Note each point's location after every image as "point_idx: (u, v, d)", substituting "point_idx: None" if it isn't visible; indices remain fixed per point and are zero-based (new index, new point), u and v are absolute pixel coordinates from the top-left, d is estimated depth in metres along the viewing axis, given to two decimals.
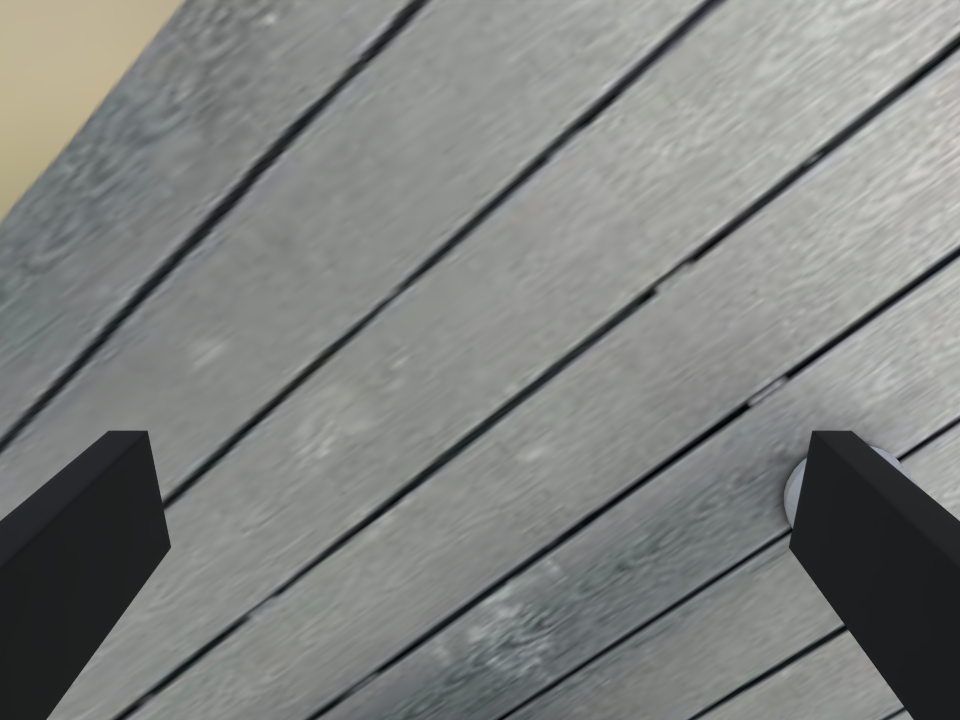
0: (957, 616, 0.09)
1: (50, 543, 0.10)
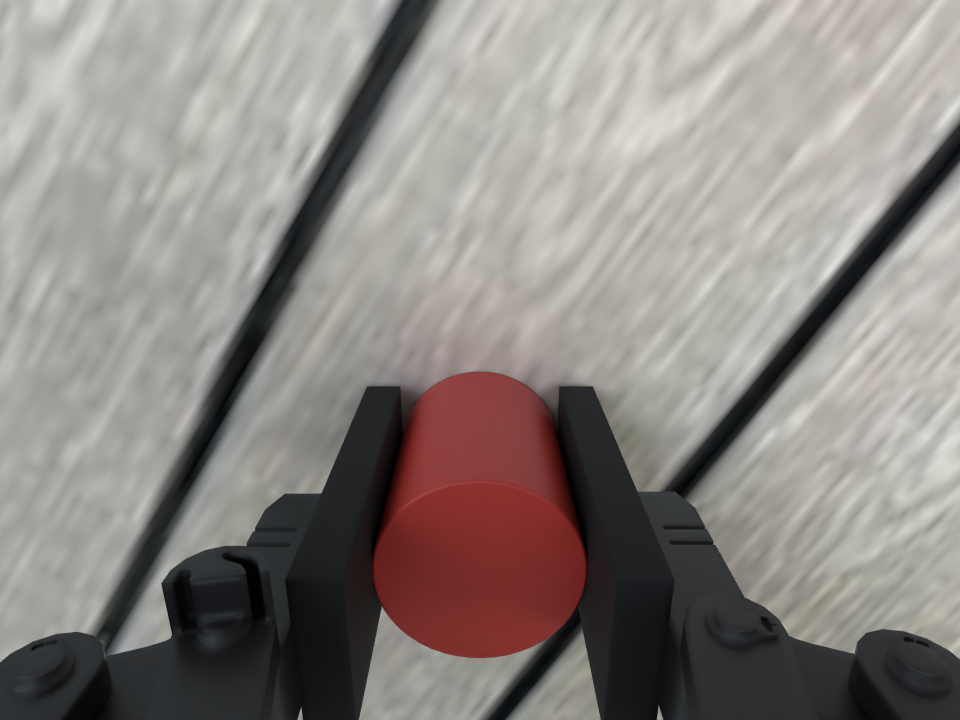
0: (586, 520, 0.11)
1: (380, 468, 0.12)
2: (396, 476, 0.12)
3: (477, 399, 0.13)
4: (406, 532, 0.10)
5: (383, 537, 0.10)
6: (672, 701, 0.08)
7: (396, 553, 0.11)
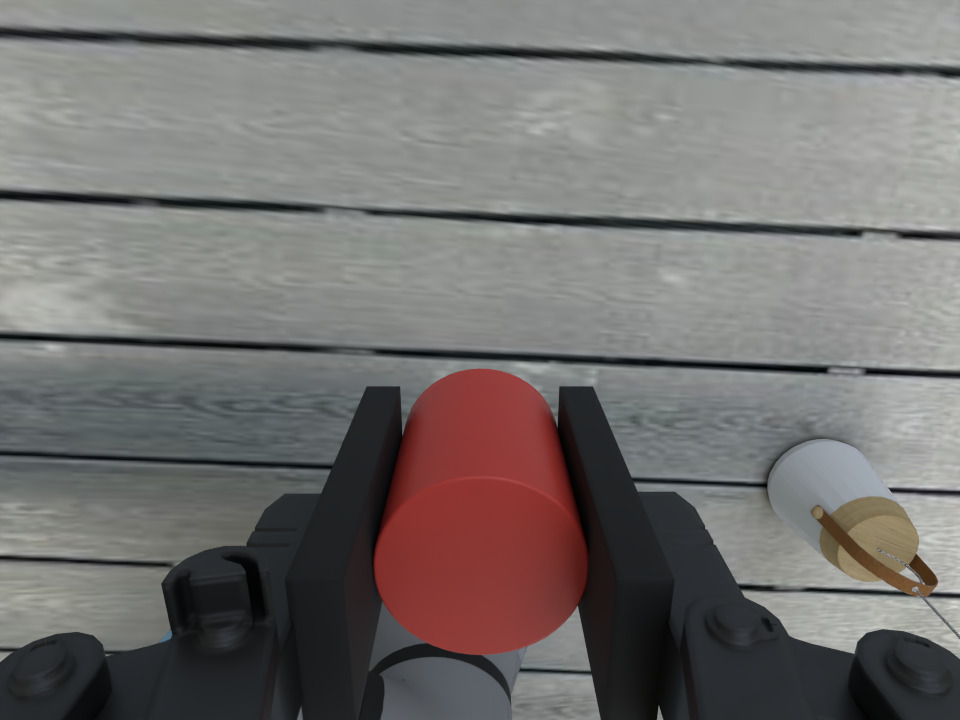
0: (586, 520, 0.11)
1: (380, 468, 0.12)
2: (397, 472, 0.12)
3: (479, 396, 0.13)
4: (408, 529, 0.10)
5: (384, 533, 0.10)
6: (672, 701, 0.08)
7: (397, 549, 0.11)
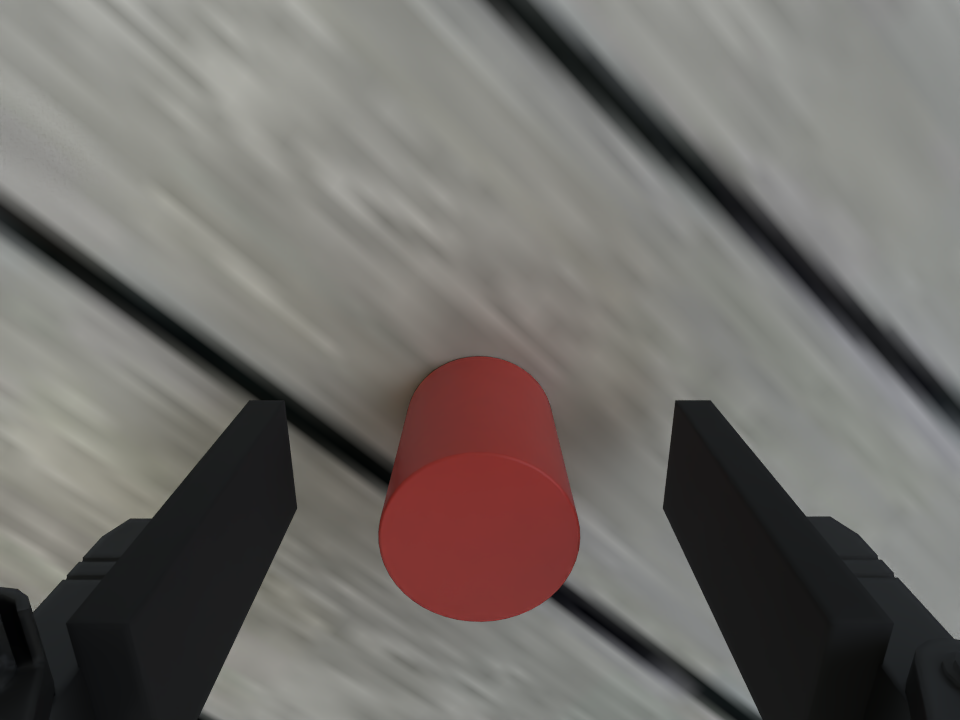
0: (748, 549, 0.10)
1: (234, 491, 0.11)
2: (400, 452, 0.13)
3: (477, 381, 0.14)
4: (411, 501, 0.11)
5: (389, 506, 0.11)
6: None
7: (401, 522, 0.11)
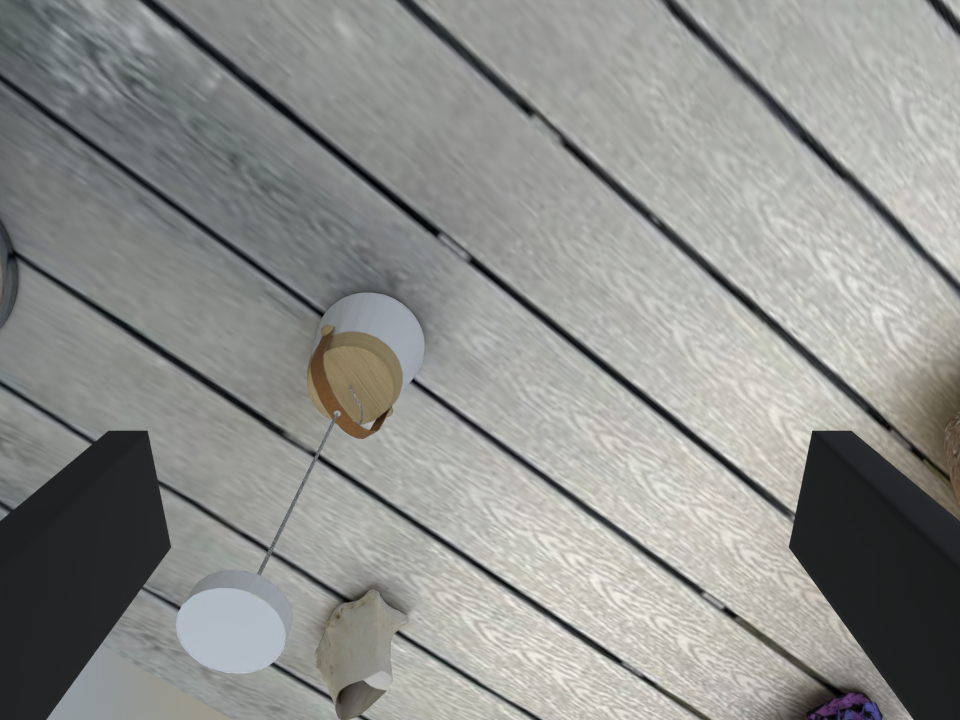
0: (957, 616, 0.09)
1: (50, 543, 0.10)
2: None
3: None
4: None
5: None
6: None
7: None
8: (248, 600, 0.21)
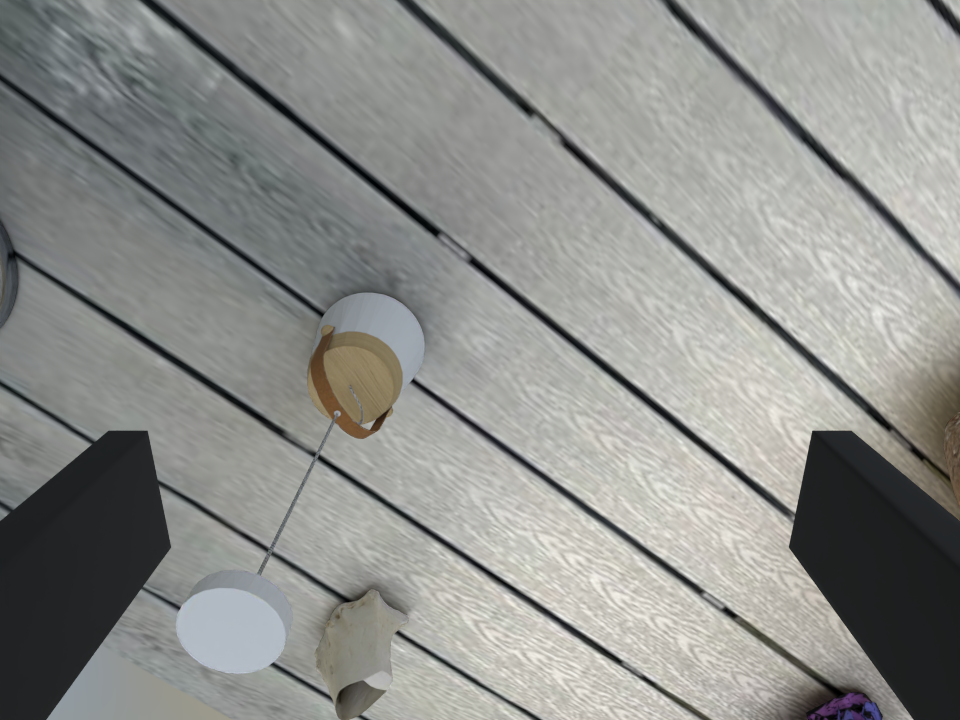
0: (957, 616, 0.09)
1: (50, 543, 0.10)
2: None
3: None
4: None
5: None
6: None
7: None
8: (248, 600, 0.21)
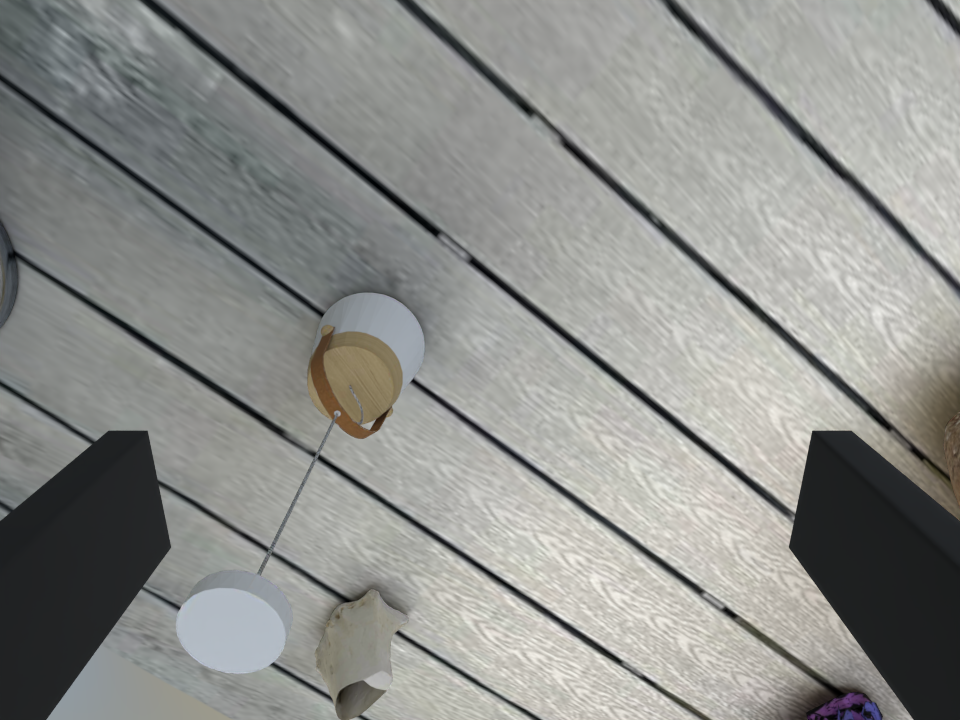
0: (957, 616, 0.09)
1: (50, 543, 0.10)
2: None
3: None
4: None
5: None
6: None
7: None
8: (248, 600, 0.21)
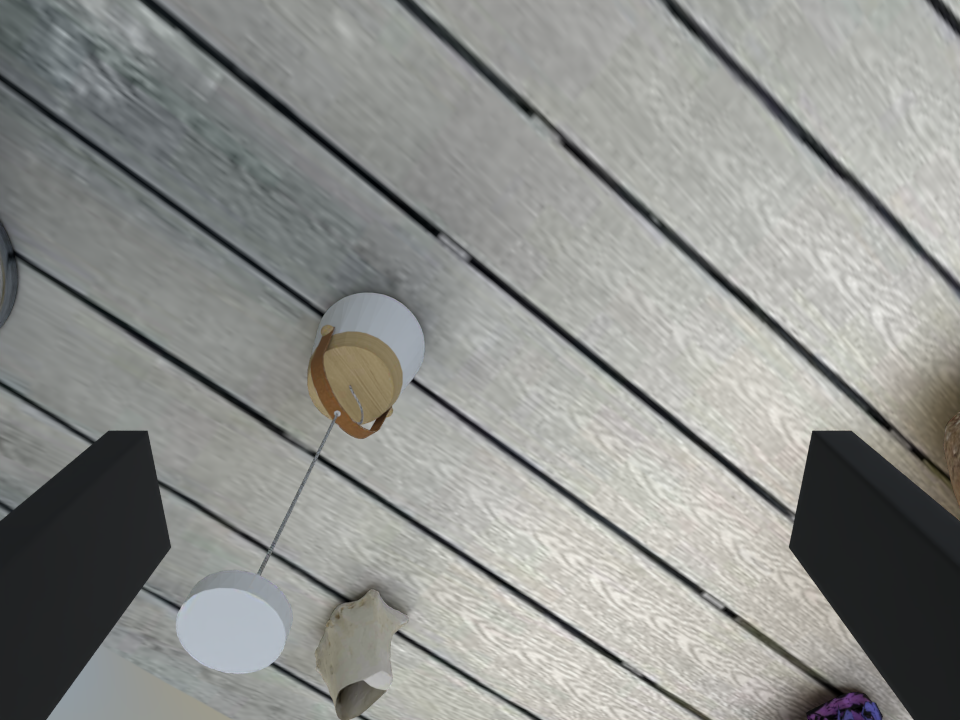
0: (957, 616, 0.09)
1: (50, 543, 0.10)
2: None
3: None
4: None
5: None
6: None
7: None
8: (248, 600, 0.21)
